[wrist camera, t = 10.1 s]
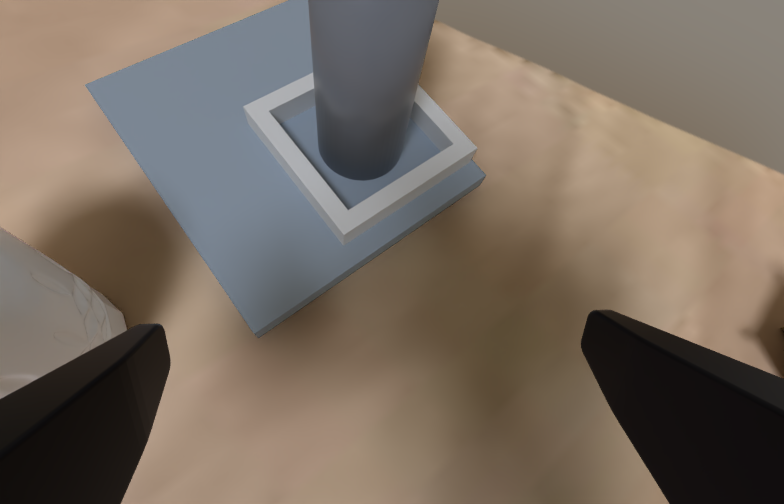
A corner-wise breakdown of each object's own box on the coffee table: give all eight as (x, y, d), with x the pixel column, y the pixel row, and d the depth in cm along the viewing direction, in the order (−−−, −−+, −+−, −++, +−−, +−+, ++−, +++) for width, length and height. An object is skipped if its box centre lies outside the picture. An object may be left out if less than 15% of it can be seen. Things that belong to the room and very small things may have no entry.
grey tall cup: (405, 182, 25) (472, -38, 12) (315, 181, 24) (294, -54, 12) (400, 109, 26) (453, -145, 14) (316, 105, 26) (299, -164, 14)
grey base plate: (479, 185, 27) (494, 161, 24) (258, 338, 22) (248, 328, 19) (316, 4, 30) (314, -32, 28) (95, 99, 25) (69, 64, 23)
